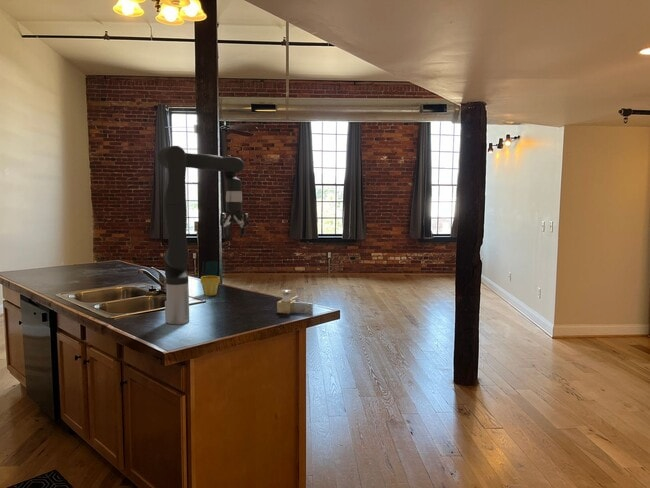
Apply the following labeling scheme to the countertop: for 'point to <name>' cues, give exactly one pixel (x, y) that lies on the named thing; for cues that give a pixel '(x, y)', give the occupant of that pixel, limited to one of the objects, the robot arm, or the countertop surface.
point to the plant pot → (210, 284)
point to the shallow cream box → (294, 307)
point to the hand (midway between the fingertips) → (234, 235)
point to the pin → (286, 295)
